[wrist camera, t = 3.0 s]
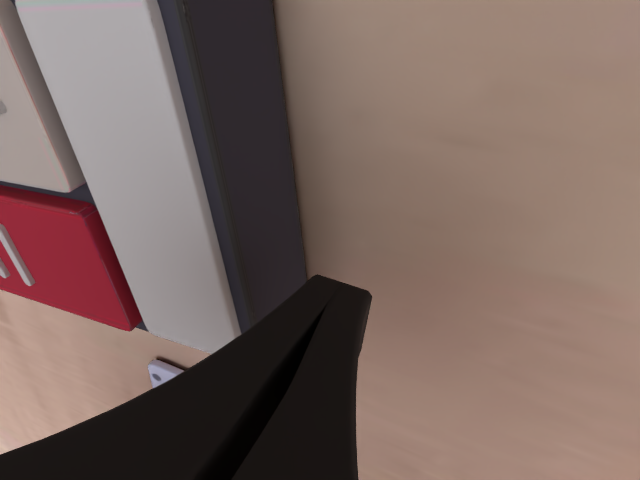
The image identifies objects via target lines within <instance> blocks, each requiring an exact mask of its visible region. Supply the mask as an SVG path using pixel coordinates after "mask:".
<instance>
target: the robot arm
mask: <svg viewBox="0 0 640 480" xmlns="http://www.w3.org/2000/svg"><path fill="white" fill-rule="evenodd" d="M371 300H372V295H371V294H370V293H369V291H367V290H364V289H361V288H358V287H354V286H351V285H348V284H345V283H342V282H339V281H336V280H333V279H330V278H327V277H324V276H321V275H318V274H317V275H315V276H313V277H312V278H310V279H309V280H308V281H307V282H306V283H305V284H304V285H303V286H302V287H300V288H299V289H298V290H297V291H296V292H295V293H293V294H292V295H291V296H290V297H289V298H288V299H286V300H285V301H284V302H283V303H281V304H280V305H279V306H278V307H277V308H275V309H274V310H273V311H272V312H270V313H269V314H268V315H266V316H265V317H264V318H262V319H261V320H260V321H258V322H257V323H256V324H254V325H253V326H252V327H251V328H249V329H248V330H246V331H245V332H244V333H242V334H241V335H239V336H238V337H236V338H235V339H234V340H232V341H231V342H229V343H228V344H226V345H225V346H223V347H222V348H220V349H219V350H217V351H216V352H214V353H213V354H211V355H210V356H208V357H207V358H205V359H204V360H202V361H200V362H199V363H197V364H195V365H194V366H192V367H191V368H189V369H187V370H185V371H184V370H181V369H179V368H177V367H174V366H172V365H169V364H167V363H165V362H162V361H160V360H152V361H151V362H150V364H149V365H148V370H149V374H150V379H151V383H152V387H153V389H151V390H149V391H147V392H145V393H143V394H141V395H140V396H138V397H136V398H134V399H132V400H130V401H128V402H126V403H124V404H122V405H120V406H117V407H115V408H113V409H111V410H109V411H107V412H104V413H102V414H100V415H98V416H95V417H93V418H91V419H88V420H86V421H84V422H82V423H79V424H77V425H75V426H72V427H70V428H68V429H66V430H63V431H61V432H59V433H56V434H54V435H51V436H49V437H46V438H44V439H41V440H39V441H36V442H33V443H31V444H28V445H25V446H23V447H20V448H17V449H14V450H12V451H9V452H6V453H4V454H1V455H0V480H358V468H357V447H356V381H357V367H358V357H359V354H360V351H361V348H362V343H363V338H364V333H365V329H366V324H367V319H368V314H369V310H370V305H371Z"/></svg>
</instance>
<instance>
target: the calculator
mask: <svg viewBox="0 0 640 480" xmlns="http://www.w3.org/2000/svg"><path fill="white" fill-rule="evenodd" d="M306 282H307V277H306V269H305V261H304V253H303V245H302V237H301V229H300V221H299V213H298V205H297V197H296V189H295V181H294V173H293V165H292V157H291V149H290V141H289V133H288V125H287V117H286V109H285V101H284V93H283V85H282V77H281V69H280V61H279V53H278V45H277V37H276V29H275V21H274V13H273V5H272V0H0V289H1V290H4V291H7V292H10V293H13V294H16V295H19V296H22V297H25V298H28V299H31V300H34V301H37V302H40V303H43V304H46V305H49V306H52V307H55V308H58V309H61V310H64V311H67V312H70V313H73V314H76V315H79V316H82V317H85V318H88V319H91V320H94V321H97V322H100V323H103V324H106V325H109V326H112V327H115V328H118V329H121V330H125V331H132V330H133V329H134V328H135V327H136V328H139V329H142V330H145V331H148V332H150V333H151V334H153V335H155V336H158V337H161V338H164V339H167V340H170V341H173V342H176V343H179V344H182V345H185V346H189V347H192V348H195V349H198V350H201V351H204V352H207V353H210V354H213V353H214V352H216V351H217V350H219V349H220V348H222V347H223V346H225V345H226V344H228V343H229V342H231V341H232V340H234V339H235V338H236V337H238V336H239V335H241V334H242V333H244V332H245V331H246V330H248V329H249V328H251V327H252V326H253V325H254V324H256V323H257V322H258V321H260V320H261V319H262V318H264V317H265V316H266V315H268V314H269V313H270V312H272V311H273V310H274V309H275V308H277V307H278V306H279V305H280V304H281V303H283V302H284V301H285V300H286V299H288V298H289V297H290V296H291V295H292V294H293V293H295V292H296V291H297V290H298V289H299V288H300V287H302V286H303V285H304V284H305V283H306Z"/></svg>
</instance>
